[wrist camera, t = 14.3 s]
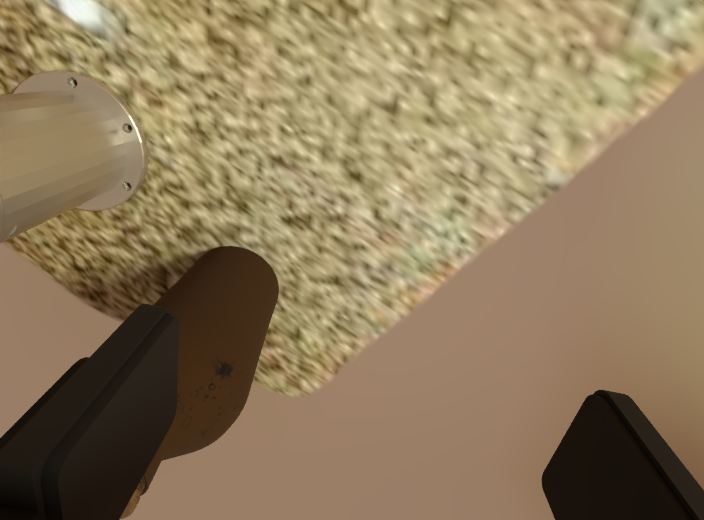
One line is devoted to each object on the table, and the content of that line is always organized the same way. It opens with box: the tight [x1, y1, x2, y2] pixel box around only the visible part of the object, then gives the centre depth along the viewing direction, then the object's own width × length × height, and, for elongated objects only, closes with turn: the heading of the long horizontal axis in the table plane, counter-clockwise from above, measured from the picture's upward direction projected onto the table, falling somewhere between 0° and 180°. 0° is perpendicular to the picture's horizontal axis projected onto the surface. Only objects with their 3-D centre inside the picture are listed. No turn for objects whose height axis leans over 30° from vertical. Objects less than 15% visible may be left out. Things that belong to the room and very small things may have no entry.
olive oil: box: [120, 246, 279, 519], centre depth 34 cm, size 11×11×25 cm
